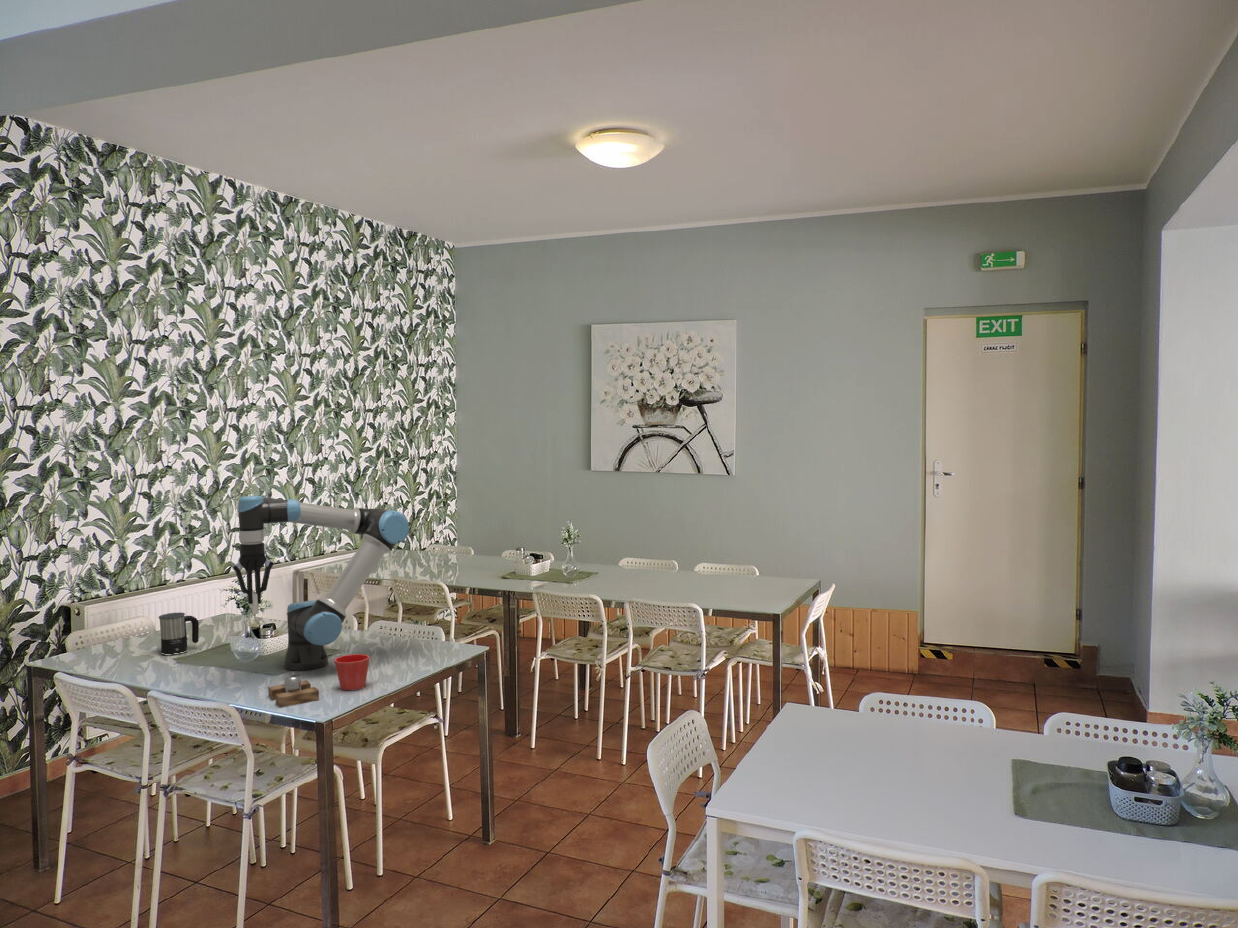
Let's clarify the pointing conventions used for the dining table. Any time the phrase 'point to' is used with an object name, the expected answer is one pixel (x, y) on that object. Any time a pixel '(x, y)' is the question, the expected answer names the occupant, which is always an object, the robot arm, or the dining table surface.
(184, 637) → the milk frother
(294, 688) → the bushing
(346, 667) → the flower pot
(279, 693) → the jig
